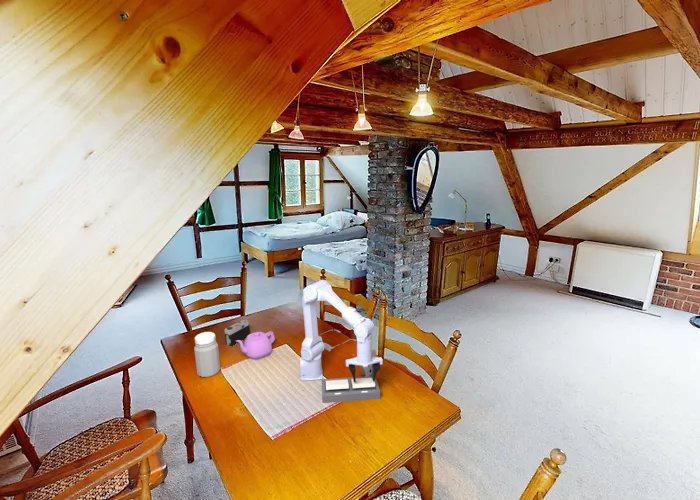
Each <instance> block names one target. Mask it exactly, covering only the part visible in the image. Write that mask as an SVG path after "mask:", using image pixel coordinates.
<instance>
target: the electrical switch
mask: <svg viewBox="0 0 700 500" xmlns="http://www.w3.org/2000/svg"><path fill="white" fill-rule="evenodd" d="M371 357H378V356H377V351H376V350H375V349H371ZM359 368H360V372H361V375H364V376H365V377H366V376H372V364H371V365H368V367H363V366H361V365H359Z"/></svg>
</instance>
